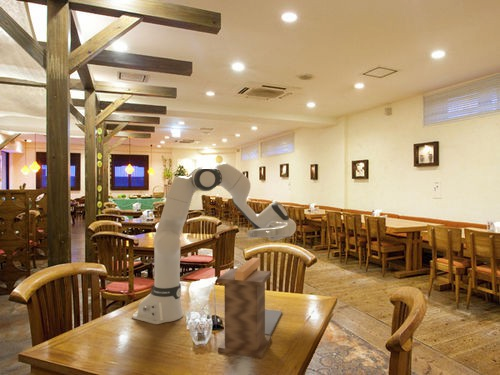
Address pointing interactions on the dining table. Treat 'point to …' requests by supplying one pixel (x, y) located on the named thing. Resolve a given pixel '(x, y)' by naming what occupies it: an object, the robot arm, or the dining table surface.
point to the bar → (247, 269)
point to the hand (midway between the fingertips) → (258, 234)
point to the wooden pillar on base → (245, 314)
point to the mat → (271, 320)
